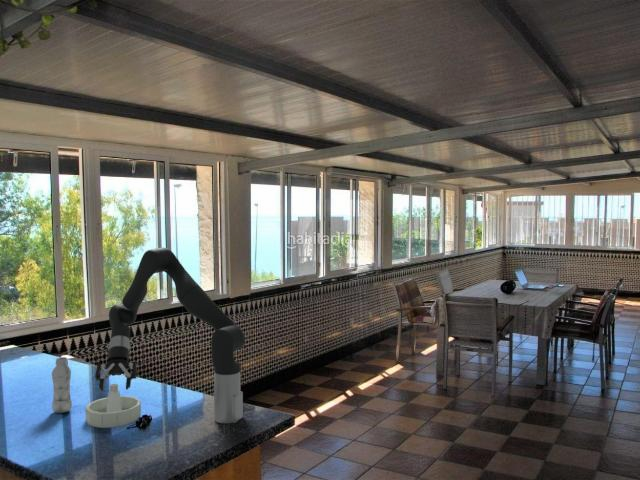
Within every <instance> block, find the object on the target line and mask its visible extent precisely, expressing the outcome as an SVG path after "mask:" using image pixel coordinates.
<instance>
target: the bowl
mask: <svg viewBox="0 0 640 480" xmlns="http://www.w3.org/2000/svg"><path fill="white" fill-rule="evenodd" d="M120 400H121V408H122V411H118V412H107V413H106V411H107V401H108V396H107V397H103V398H99V399H96V400H93V401H91V402H90V403H88V404H87V405H86V407H85V421H86V424H87V425H88V426H89V427H94V428H99V429H107V428H108V429H110V428H111V429H112V428H118V427H122V426H127V425H130V424H132V423H134V422H137V421H138V420H139V419H140V418H141V413H142V401H141V399H139V398H137V397H135V396H128V395H120ZM139 417H140V418H139ZM138 418H139V419H138Z"/></svg>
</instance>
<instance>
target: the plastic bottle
mask: <svg viewBox="0 0 640 480" xmlns="http://www.w3.org/2000/svg"><path fill="white" fill-rule="evenodd" d="M71 374H72V371H71V368H70V367H69V366H68V357H56V359H55V367H54V368H53V369H52V371H51V380H52V386H53V395H52V396H53V397H52V398H53V399H52V404H51V408H52V411H53V412H54V413H55V414H63V413H68V412H69V411H71V410H72V407H73V406H72V405H73V402H72V398H71V376H72V375H71Z"/></svg>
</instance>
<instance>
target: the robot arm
mask: <svg viewBox="0 0 640 480" xmlns="http://www.w3.org/2000/svg"><path fill="white" fill-rule="evenodd" d="M164 272H165V273H166V274H167V275H168V276H169V277H170V279H171V280H172V281H173V283H174V286H175V293H176V294H175V295H176V297H177V300H178V302H179V303H180V304H181V305H182V307H184V308H185V310H186V311H187V312H188V313H189V314H190V315H192V316H193V317H195V318H197V319H199V320H201V321H203V322H204V323H206V324H208V325H209V326H211V328H213V329H214V330H215V331H214V332H213V333H212V337H211V339H210V340H211V342H210V347H211V348H210V349H211V362H212V363H211V364H212V366H213V368H214V369H213V371H214V372H213V373H214V374H213V376H214V377H213V379H214V380H213V382H214V385H213V386H214V391H213V392H214V397H213V398H214V401H213V403H214V409H213V410H214V414H213V415H214V422H216V423H219V424H236V423H237V422H239V420H241V419H242V418H243V416H244V415H243V414H244V413H243V412H244V411H243V409H244V407H243V406H244V405H243V403H244V402H243V401H244V398H243V397H244V395H243V394H244V392H243V391H241V370H242V368H241V363H240V362H239V361H237V360H235V354H234V352H235V351H238V350H240V349H242V348H243V346H244V345H245V343H246V336H245V332H244V331H243V329H241V327H240V326H239V325H238V324H237V323H235V321H234V320H232V319H231V318H230V317H229V316H228V315H227V314H226V313H225V312H223V310H222V309H221V308H220V307H219V306H218V305H217V304H216V303H215V302H214V301H213V300H212V298H211V297H210V296H209V295H208V294H207V292H206V291H205V290H204V289H203V288H202V287H201V286H200V285H199V284H198V283H197V282H196V280H195V279H194V278H193V277H192V276H191V274H189V272H188V271H187V270H186V268H185V267H184V266H183V265H182V263H181V262H180V260H179V259H178V257H177V256H176V255H175V253H174V252H173V251H172V250H171V249H170V248H168V247H157V248H152V249H148V250H146V251H145V252H144V253H143V255H142V257H141V259H140V261H139V264H138V267H137V270H136V273H135V275H134V278H133V280H132V282H131V284H130V286H129V287H128V290H127V291H126V292H125V294H124V296H123V297H122V299H121V303H122V305H120V304H114V305H112V306H111V307H110V309H109V312H108V319H109V320H108V321H109V324H110V329H111V331H110V332H111V333H110V334H111V336H110V341H109V345H108V352H107V360H106V361H107V362H106V363H105V364H102V363H101V362H99V363H97V365H96V370H95V373H94V375H95V376H94V377H95V380H96V381H97V382H98V381H99V387H98V388H99V389H100V391H101V392H103V391H105V383H106V382H105V381H106V380H107V379H108V378H110V376H122V375H123V376H124V377H125V378H126V379H125V380H126V381H125V390H127V391H128V390H129V389H130V388H131V384H132V380H134V379H135V380H136V379H137V374H138V372H137V370H138V368H137V361H135V360H134V361H133V362H129V358H130V350H131V348H130V347H131V342H130V341H131V339H130V338H131V328H130V327H129V326H131V325H133V324H134V323H135V322H136V320H137V317H138V316H137V315H138V311H139V308H140V306H141V304H142V303H143V301H144V300H145V298H146V296H147V294H148V282H149V280H150V279H151V278H152V276H153V275H155V274H158V273H164ZM104 369H105V370H104ZM128 369H131V370H132V373H130V372H129V371H128ZM103 370H104V372H103V374H102V371H103Z"/></svg>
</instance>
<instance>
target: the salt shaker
mask: <svg viewBox="0 0 640 480" xmlns="http://www.w3.org/2000/svg"><path fill="white" fill-rule="evenodd" d="M120 396H121V392H120V391H119V385H118V384H117V383H112V384H109V392H108V393H107V397H108V401H107V411H106V413H107V412H118V411H122V408H121V400H120Z"/></svg>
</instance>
